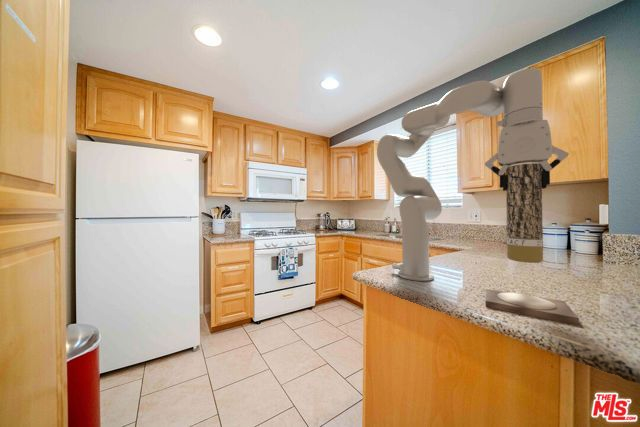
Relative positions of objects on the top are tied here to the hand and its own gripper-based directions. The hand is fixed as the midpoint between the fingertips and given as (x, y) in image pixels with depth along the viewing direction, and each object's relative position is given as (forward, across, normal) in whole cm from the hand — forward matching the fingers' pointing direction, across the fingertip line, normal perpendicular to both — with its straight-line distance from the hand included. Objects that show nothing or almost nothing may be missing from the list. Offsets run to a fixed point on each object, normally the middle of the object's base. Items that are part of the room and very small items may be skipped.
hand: (523, 188), depth 57 cm
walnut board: (+31, 0, 0) cm, 31 cm away
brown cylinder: (+19, 0, 0) cm, 19 cm away
